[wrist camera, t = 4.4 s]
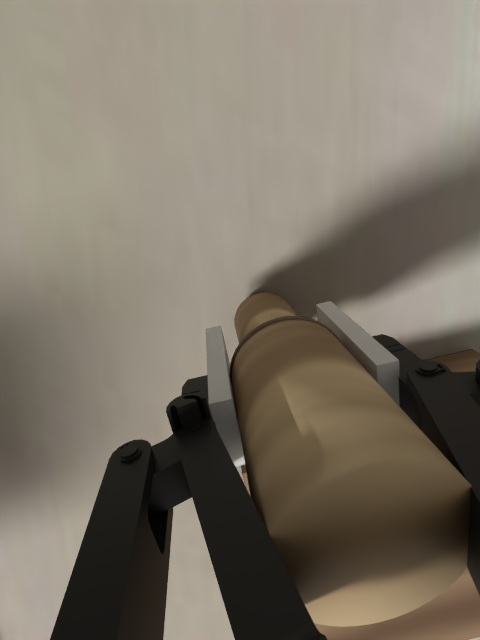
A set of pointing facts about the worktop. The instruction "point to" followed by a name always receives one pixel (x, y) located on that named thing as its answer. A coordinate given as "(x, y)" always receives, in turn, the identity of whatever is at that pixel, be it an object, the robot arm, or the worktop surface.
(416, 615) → the socket block
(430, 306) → the worktop surface
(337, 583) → the peg
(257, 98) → the worktop surface
